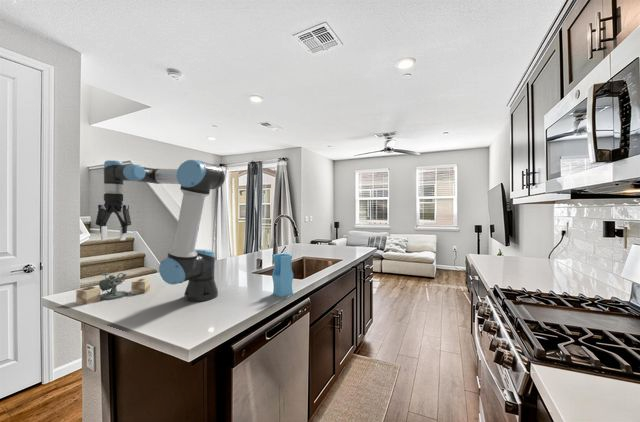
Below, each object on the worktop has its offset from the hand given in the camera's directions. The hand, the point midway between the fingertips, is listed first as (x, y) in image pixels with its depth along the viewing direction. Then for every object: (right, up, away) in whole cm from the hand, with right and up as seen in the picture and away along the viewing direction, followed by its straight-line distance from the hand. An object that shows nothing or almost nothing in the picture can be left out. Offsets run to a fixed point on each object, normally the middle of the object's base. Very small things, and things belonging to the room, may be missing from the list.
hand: (113, 239), depth 132 cm
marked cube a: (+8, -27, +8) cm, 30 cm away
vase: (+81, -29, +8) cm, 86 cm away
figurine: (0, -28, 0) cm, 28 cm away
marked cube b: (-6, -27, -7) cm, 29 cm away
